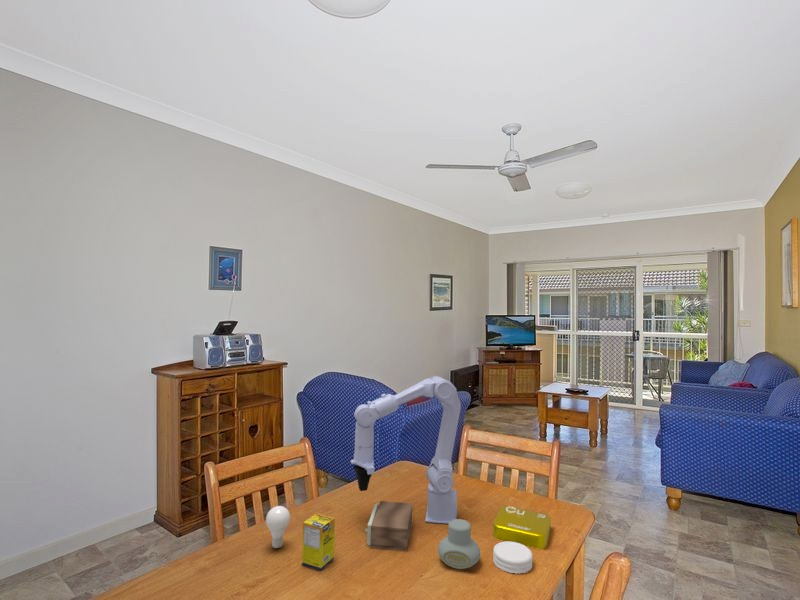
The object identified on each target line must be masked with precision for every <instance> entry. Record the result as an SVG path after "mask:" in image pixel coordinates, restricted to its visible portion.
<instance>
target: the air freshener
mask: <svg viewBox="0 0 800 600" xmlns="http://www.w3.org/2000/svg"><path fill="white" fill-rule="evenodd" d="M447 526H448V528H447V529H448V531H447V536H445V537H444V538H442V539H441V541H440V542H439V544H438V547H437V552H438V553H437V554H438V556H439V558H440V559H441V561H442V562H443V563H445V565H447V566H449V567H451V568H453V569H456V570H463V569H469V568H471V567H474V565H476V564H477V563H478V562H479V560H480V558H481V549H480V547H479V545H478V543H477V542H476V541H475V540H474V539H473V538H472V525H471V523H469V521H467V520H465V519H460V518H456V519H455V520H452V521H450V522H449V524H447Z"/></svg>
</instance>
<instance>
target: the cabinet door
mask: <svg viewBox="0 0 800 600" xmlns="http://www.w3.org/2000/svg"><path fill="white" fill-rule="evenodd" d="M378 506H379V503H374V506H373V508H372V511H371V514H370V516H369V517H370V518H369V520H368V522H367V528H365V529H364V534H367V535H366V536H367V539H366V546H370V547H371V525H372V522H373V519H374V517H375V514H376V511H377V509H378Z"/></svg>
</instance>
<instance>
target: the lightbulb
mask: <svg viewBox="0 0 800 600" xmlns="http://www.w3.org/2000/svg"><path fill="white" fill-rule="evenodd" d="M290 521H291V514H290V511H289V509H287V508H286V507H285V506H283V505H276V506H273V507H272V508H271V509H270V510H269V511H268V512H267V514H266V518H265V523H266V526H267V528H268V529H269V531H270V533H271V535H270V536H271V537H272V541H271V542H272V544H271V546H272V548H274V549H280V548H281V547H283V540H284V539H283V538H284V536H285V535H284V534H285V531H286V528H287V527H288V525H289V524H290Z"/></svg>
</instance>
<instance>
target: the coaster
mask: <svg viewBox="0 0 800 600" xmlns="http://www.w3.org/2000/svg"><path fill="white" fill-rule="evenodd" d="M492 556H493V557H492V558H493V559H492V561H493V564H494V565H495V567H497V568H498V569H499V568H500V569H499V570H501V571H503V572H505V571H506V573H508V572H509V574H512V573H515V574H514V575H521V574H520V573H524V574H526V572H527V573H529V572H530V571H531V570H532V568H533V552H532V550H531V548H529V547H526V546H524V545H522V544H520V543H516V542H510V541H499V542H498V543H496V544H495V545H494V546H493V554H492ZM528 571H529V572H528ZM518 573H519V574H518Z"/></svg>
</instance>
